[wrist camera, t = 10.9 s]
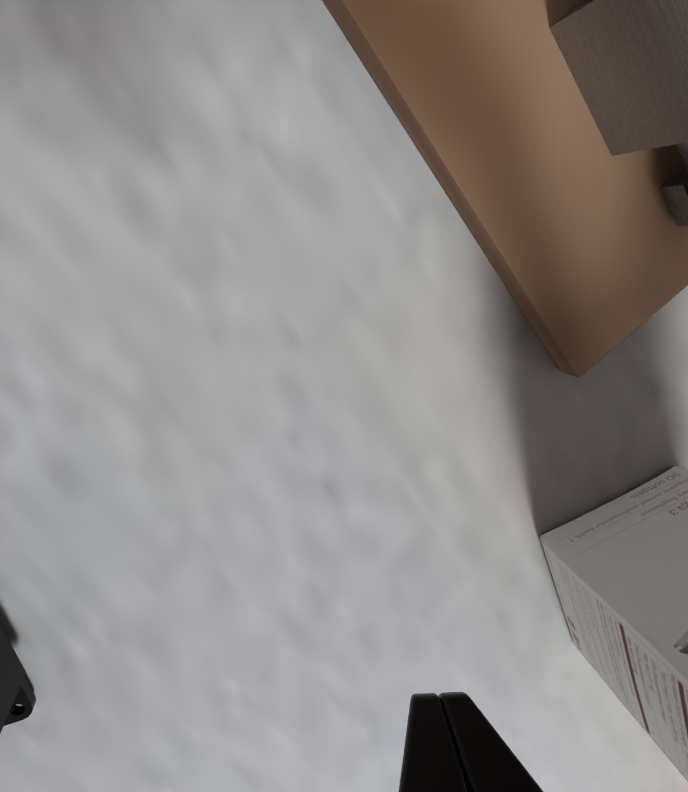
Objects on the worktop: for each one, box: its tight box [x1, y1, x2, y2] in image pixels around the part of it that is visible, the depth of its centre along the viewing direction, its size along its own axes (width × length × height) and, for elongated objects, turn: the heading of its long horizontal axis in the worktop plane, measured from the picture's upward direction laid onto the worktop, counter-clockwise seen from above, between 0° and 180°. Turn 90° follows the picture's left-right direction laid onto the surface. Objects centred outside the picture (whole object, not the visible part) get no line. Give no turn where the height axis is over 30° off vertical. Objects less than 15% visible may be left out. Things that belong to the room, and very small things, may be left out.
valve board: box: [322, 0, 688, 378], centre depth 17 cm, size 14×16×1 cm
